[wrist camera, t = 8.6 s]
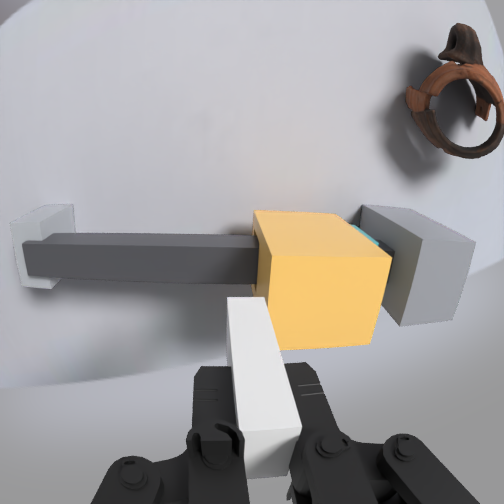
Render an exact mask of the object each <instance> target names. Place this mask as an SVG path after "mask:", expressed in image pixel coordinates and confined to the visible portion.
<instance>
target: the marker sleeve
mask: <svg viewBox="0 0 504 504" xmlns="http://www.w3.org/2000/svg"><path fill="white" fill-rule="evenodd" d="M252 235H255V236H257V238H258V241H259V259H258V273H257V284H251V287H252V293H253V297H264V298H265V301H266V305H267V308H268V312H269V315H270V319H271V322H272V325H273V329H274V332H275V336H276V339H277V342H278V346H279V349H280V350H297V349H316V348H332V347H344V346H356V345H366V344H370V341H371V338H372V335H373V331H374V328H375V325H376V321H377V317H378V314H379V310H380V306H381V303H382V299H383V295H384V291H385V287H386V283H387V279H388V274H389V270H390V265H391V261H392V257H391V256H390V255H388V254H387V253H386V252H385V251H383V250H382V249H381V248H380V247H378V246H377V245H376V244H374V243H373V242H372V241H371V240H369V239H368V238H367V237H365V236H364V235H363V234H362V233H360V232H359V231H358V230H356V229H355V228H354V227H352V226H351V225H350V224H348V223H347V222H346V221H344V220H343V219H342V218H340V217H339V216H338V215H336V214H329V213H311V212H290V211H266V210H254V214H253V231H252Z"/></svg>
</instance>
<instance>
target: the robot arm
mask: <svg viewBox="0 0 504 504" xmlns="http://www.w3.org/2000/svg"><path fill="white" fill-rule="evenodd" d="M226 353H227V366H224V367H223V366H218V367H217V366H201V367H200V369H199V370H198V372H197V373H196V375H195V376H194V391H193V415H192V429H191V430H190V431H189V432H188V435H187V438H186V444H187V449H186V450H185V452H184V453H183V454H181V455H179V456H177V457H175V458H172V459H169V460H164V461H159V462H154V463H152V462H151V461H149V460H147V459H145V458H143V457H137V456H128V457H122V458H120V459H119V460H117V461H115V462H114V463H113V464H112V465H111V466H110V468H109V469H108V471H107V473H106V475H105V477H104V479H103V481H102V483H101V485H100V487H99V489H98V491H97V493H96V495H95V496H94V499H93V501H92V502H91V504H250V502H249V494H248V487H247V479H255V478H269V477H279V476H287V474H288V471H289V469H290V474H291V478H292V482H291V485H290V488H289V490H288V493H287V500H290V499H291V497H292V502H293V504H480V503H479V502H478V501H477V500H476V499H475V498H474V497H473V496H472V495H471V494H470V493H469V491H468V490H467V489H465V487H464V486H463V485H462V484H461V483H460V482H459V481H458V480H457V479H456V478H455V477H454V476H453V475H452V473H450V471H449V470H448V469H447V468H446V467H445V466H444V465H443V464H442V463H441V462H440V461H439V460H438V459H437V458H436V456H435V455H434V454H433V453H432V452H431V451H430V450H429V449H428V448H427V447H426V446H425V445H424V444H423V442H422V441H420V440H419V439H418V438H416V437H415V436H412V435H409V434H397V435H394V436H391V437H390V438H389V439H388V440H386V442H385V443H384V444H373V443H372V444H371V443H361V442H356V441H354V440H351V439H350V438H349V436H347V435H345V434H344V433H343V432H341V431H340V430H339V428H338V426H337V424H336V421H335V419H334V416H333V414H332V411H331V409H330V406H329V404H328V401H327V399H326V396H325V394H324V391H323V389H322V386H321V385H320V381H319V379H318V376H317V374H316V371H314V370H313V369H312V368H311V367H310V366H309V365H308V364H307V363H306V362H302V363H287V364H284V363H283V360H282V356H281V353H280V349H279V346H278V342H277V339H276V336H275V332H274V329H273V325H272V322H271V319H270V315H269V312H268V308H267V305H266V301H265V298H264V297H227V337H226Z"/></svg>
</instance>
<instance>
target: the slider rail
mask: <svg viewBox="0 0 504 504" xmlns="http://www.w3.org/2000/svg"><path fill="white" fill-rule="evenodd" d="M351 226H352V227H354V228H355V229H356V230H358V231H359V232H360V233H362V234H363V235H364V236H365V237H367V238H368V239H369V240H371V241H372V242H373V243H374V244H376V245H377V246H378V247H380V248H381V249H382V250H383V251H385V252H386V253H387V254H388V255H390V256H391V257H392V261H391V265H390V270H389V274H388V279H387V283H386V287H385V291H384V295H383V299H382V303H381V305H382V306H383V307H384V308H385V310H386V311H387V312H388V313H389V314H390V316H391V317H392V318H393V319H394V320H395V322H396V323H397V324H398V325H399V326H409V325H418V324H427V323H434V322H442V321H448V320H452V319H453V317H454V314H455V311H456V308H457V306H458V303H459V299H460V297H461V294H462V291H463V287H464V284H465V281H466V278H467V274H468V271H469V267H470V264H471V260H472V256H473V252H474V248H475V244H476V242H474V241H473V240H471V239H469V238H467V237H465V236H463V235H461V234H460V233H458V232H456V231H454V230H452V229H450V228H448V227H446V226H444V225H442V224H440V223H438V222H436V221H434V220H432V219H430V218H428V217H426V216H424V215H422V214H420V213H418V212H416V211H414V210H411V209H405V208H395V207H385V206H374V205H363V206H362V213H361V220H360V227H359V228H358V227H357V226H355V225H351ZM10 229H11V235H12V241H13V247H14V252H15V257H16V262H17V267H18V272H19V276H20V280H21V284H22V286H23V287H34V288H46V289H52V288H53V287H54V286H55V285H56V284H57V283H58V282H59V281H60V279H61V278H72V279H90V280H111V281H134V282H162V283H198V284H257V273H258V259H259V241H258V238H257V236H255V235H211V234H150V233H76V230H75V221H74V210H73V204H60V205H44V206H42V207H40V208H38V209H36V210H34V211H32V212H30V213H28V214H26V215H24V216H22V217H20V218H18V219H16V220H15V221H13V222H11V223H10Z"/></svg>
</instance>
